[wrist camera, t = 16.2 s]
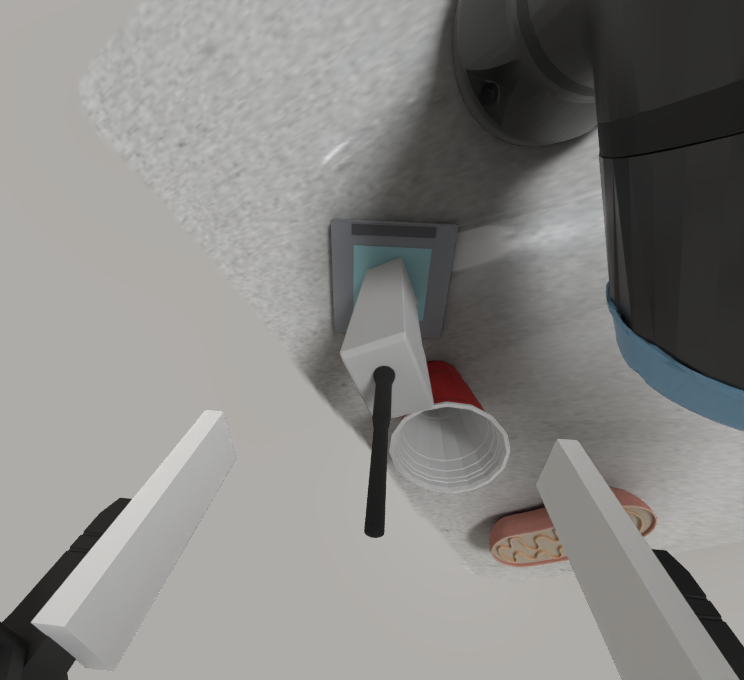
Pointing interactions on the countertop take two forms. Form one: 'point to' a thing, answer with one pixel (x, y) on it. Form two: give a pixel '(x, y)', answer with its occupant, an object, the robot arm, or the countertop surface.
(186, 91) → the countertop surface
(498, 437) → the plastic cup
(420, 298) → the pad
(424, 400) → the vintage mobile phone
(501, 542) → the anatomical model
